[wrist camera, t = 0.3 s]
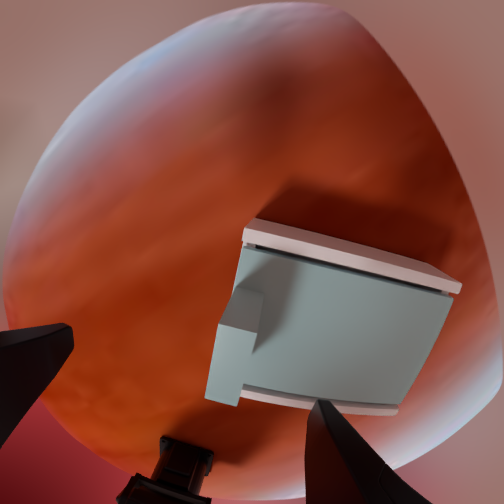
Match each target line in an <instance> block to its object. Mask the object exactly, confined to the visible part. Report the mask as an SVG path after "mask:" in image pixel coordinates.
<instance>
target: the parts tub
mask: <svg viewBox="0 0 504 504" xmlns="http://www.w3.org/2000/svg"><path fill="white" fill-rule="evenodd" d="M242 241H243V246H248V247H252V248H256V249H260V250H265V251H269V252H273V253H277V254H281V255H285V256H290V257H294V258H298V259H302V260H306V261H310V262H315V263H319V264H323V265H327V266H331V267H335V268H339V269H344V270H348V271H352V272H356V273H360V274H364V275H368V276H372V277H376V278H380V279H385V280H389V281H393V282H397V283H401V284H405V285H409V286H413V287H417V288H421V289H425V290H429V291H433V292H437V293H441V294H446V295H448V294H449V292H452V293H456V294H459V292H460V289H461V287H462V283H460V282H458V281H457V280H455V279H453V278H452V277H450V276H449V275H447V274H445V273H444V272H442V271H440V270H439V269H437V268H435V267H433V266H432V265H430V264H428V263H425V262H422V261H418V260H415V259H411V258H408V257H404V256H401V255H397V254H394V253H390V252H387V251H383V250H380V249H376V248H372V247H369V246H365V245H361V244H358V243H354V242H350V241H346V240H342V239H339V238H335V237H331V236H327V235H323V234H319V233H315V232H311V231H307V230H303V229H299V228H295V227H291V226H287V225H283V224H279V223H274V222H270V221H266V220H262V219H257V218H253V219H252V220H251V221H250V222H249V223H248V225H247V226H246V227H245V228H244V232H243V237H242ZM243 246H242V248H243ZM241 252H242V250H241ZM240 257H241V255H240ZM239 261H240V260H239ZM238 266H239V264H238ZM237 271H238V269H237ZM236 275H237V274H236ZM235 280H236V278H235ZM234 285H235V283H234ZM233 289H234V288H233ZM232 294H233V292H232ZM240 397H244V398H248V399H253V400H258V401H263V402H268V403H273V404H278V405H284V406H290V407H296V408H303V409H310V410H312V408H313V406H314V404H315V402H316V400H318V399H324V400H329V401H330V402H331V403H332V404H333V405H334V406H335V407H336V409H337V410H338V411H339V412H340V413H346V414H359V415H379V416H395V415H396V414H397V412H398V411H399V408H398V405H397V404H382V403H367V402H354V401H344V400H335V399H327V398H319V397H312V396H306V395H299V394H293V393H288V392H282V391H277V390H272V389H267V388H262V387H257V386H253V385H248V384H244V383H243V387H242V390H241V394H240Z"/></svg>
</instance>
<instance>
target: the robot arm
mask: <svg viewBox="0 0 504 504" xmlns="http://www.w3.org/2000/svg"><path fill="white" fill-rule="evenodd" d="M73 349H74V338H73V330H72V327H71V326H69V325H67V324H65V323H57V324H51V325H44V326H37V327H31V328H23V329H16V330H9V331H1V332H0V449H1V447H2V445H3V444H4V443H5V441H6V440H7V439H8V437H9V436H10V434H11V433H12V431H13V430H14V429H15V427H16V426H17V425H18V423H19V422H20V421H21V419H22V418H23V417H24V415H25V414H26V413H27V411H28V410H29V409H30V407H31V406H32V405H33V403H34V402H35V401H36V400H37V399H38V397H39V396H40V395H41V394H42V392H43V391H44V390H45V389H46V387H47V386H48V385H49V384H50V382H51V381H52V380H53V379H54V377H55V376H56V375H57V373H58V372H59V370H60V369H61V367H62V366H63V364H64V363H65V361H66V360H67V358H68V357H69V355H70V354H71V352H72V351H73ZM213 456H214V453H213V452H212V451H209V450H205V449H201V448H198V447H194V446H191V445H188V444H184V443H181V442H178V441H175V440H172V439H169V438H166V437H161V438H160V458H159V461H158V463H157V465H156V467H155V469H154V472H153V474H152V476H151V478H150V479H149V478H147V477H144V476H142V475H141V474H139V473H136V475H135V476H132V477H131V479H130V481H129V482H128V484H127V486H126V487H125V488H124V489H123V491H122V492H121V493H120V494H119V495H118V496H117V498H116V501H117V503H118V504H211V499H212V498H208V497H207V498H206V497H202V496H199V493H200V489H201V486H202V483H203V479H204V476H208V474H209V471H210V467H211V463H212V460H213ZM305 486H306V504H432V503H431V502H429V501H428V500H427V499H425V498H424V497H423V496H422V495H420V494H419V493H418V492H417V491H415V490H414V489H413V488H411V487H410V486H409V485H408V484H407V483H406V482H405V481H403V480H402V479H401V478H400V477H399V476H398V475H397V474H396V473H395V472H394V471H393V470H392V469H391V468H390V467H389V466H388V465H387V464H385V461H384V460H383V459H382V458H381V457H380V456H379V455H378V454H377V453H376V452H375V451H374V450H373V449H372V448H371V446H370V445H369V444H368V443H367V442H366V441H365V440H364V439H363V438H362V437H361V435H360V434H359V433H358V432H357V431H356V430H355V429H354V428H353V427H352V426H351V424H350V423H349V422H348V421H347V420H346V419H345V418H344V417H343V415H342V414H341V413H340V412H339V411H338V410H337V409H336V407H335V406H334V405H333V404H332V403H331V402H330V401H329V400H324V399H318V400H316V402H315V404H314V406H313V408H312V410H311V412H310V414H309V416H308V420H307V433H306V445H305Z"/></svg>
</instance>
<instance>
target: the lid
mask: <svg viewBox="0 0 504 504" xmlns="http://www.w3.org/2000/svg"><path fill="white" fill-rule="evenodd" d="M453 300H454V298H452V297H451V296H450V295H446V294H441V293H437V292H433V291H429V290H425V289H421V288H417V287H413V286H409V285H405V284H401V283H397V282H393V281H389V280H385V279H380V278H376V277H372V276H368V275H364V274H360V273H356V272H352V271H348V270H344V269H339V268H335V267H331V266H327V265H323V264H319V263H315V262H310V261H306V260H302V259H298V258H294V257H290V256H285V255H281V254H277V253H273V252H269V251H265V250H260V249H256V248H252V247H248V246H243V248H242V252H241V257H240V261H239V266H238V271H237V275H236V280H235V285H234V289H233V294H232V296H231V298H230V300H229V302H228V305H227V307H226V309H225V311H224V313H223V315H222V317H221V320H220V322H219V324H218V329H217V334H216V339H215V345H214V350H213V355H212V361H211V366H210V371H209V377H208V382H207V388H206V393H205V398H206V399H209V400H213V401H217V402H220V403H224V404H228V405H232V406H237V404H238V401H239V397H240V394H241V390H242V387H243V383H244V384H248V385H253V386H257V387H262V388H267V389H272V390H277V391H282V392H288V393H293V394H299V395H306V396H312V397H319V398H327V399H335V400H344V401H354V402H367V403H382V404H401V402H402V400H403V399H404V397H405V396H406V394H407V392H408V391H409V389H410V388H411V386H412V384H413V382H414V381H415V379H416V377H417V376H418V374H419V372H420V370H421V368H422V367H423V365H424V363H425V361H426V359H427V357H428V355H429V353H430V351H431V349H432V347H433V345H434V343H435V341H436V339H437V337H438V335H439V333H440V331H441V328H442V326H443V324H444V322H445V319H446V317H447V315H448V312H449V310H450V307H451V305H452V302H453Z"/></svg>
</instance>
